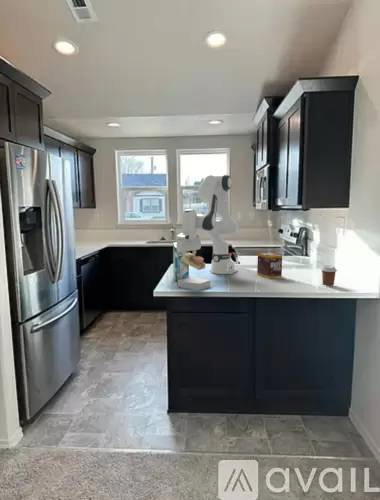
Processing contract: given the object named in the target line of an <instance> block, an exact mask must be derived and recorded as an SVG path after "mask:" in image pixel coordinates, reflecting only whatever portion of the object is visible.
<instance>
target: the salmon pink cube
mask: <svg viewBox="0 0 380 500" xmlns="http://www.w3.org/2000/svg"><path fill="white" fill-rule="evenodd" d="M204 259H205V258H204V257H202V256H199V255H197V256H195V258H194V262H196V263H198V264H201V263H203V262H204V261H205V260H204Z"/></svg>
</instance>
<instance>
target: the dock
mask: <svg viewBox="0 0 380 500" xmlns="http://www.w3.org/2000/svg"><path fill="white" fill-rule="evenodd" d="M177 287H178V288H182V287H183V288H182V289H187V288H188V289H187V290H193V291H197V292H198V291H201V290H204V289H207V288H211V280H209V279H206V278H199V277H192V276H189V277H188V278H185V279H181V280H178V281H177Z"/></svg>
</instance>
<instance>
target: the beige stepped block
mask: <svg viewBox="0 0 380 500" xmlns="http://www.w3.org/2000/svg"><path fill="white" fill-rule="evenodd" d="M185 254H186V256H187V259H184V258H183V256H182V258H181V259H180V261H182V262H184V263H186V264H188V265H189V267H192V268H193V269H195V270H198V271H200V270H204V269H206V262H204V261H203V263H201V264H198V263H196V262H194V258H195V257H196V254H195V255H193V254H192V253H191V252H189V253H185Z"/></svg>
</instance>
